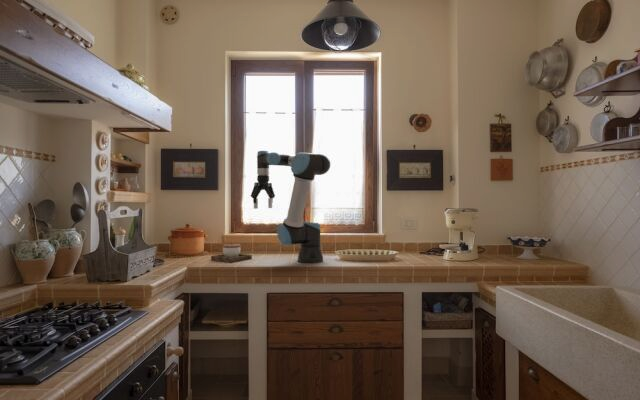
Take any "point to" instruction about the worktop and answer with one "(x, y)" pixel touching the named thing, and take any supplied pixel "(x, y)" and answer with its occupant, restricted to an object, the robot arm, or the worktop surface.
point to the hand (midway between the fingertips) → (263, 208)
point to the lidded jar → (231, 250)
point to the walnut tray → (224, 259)
